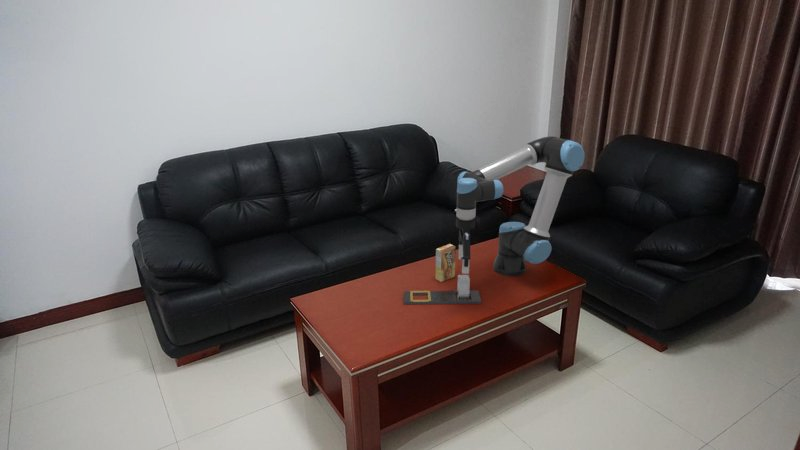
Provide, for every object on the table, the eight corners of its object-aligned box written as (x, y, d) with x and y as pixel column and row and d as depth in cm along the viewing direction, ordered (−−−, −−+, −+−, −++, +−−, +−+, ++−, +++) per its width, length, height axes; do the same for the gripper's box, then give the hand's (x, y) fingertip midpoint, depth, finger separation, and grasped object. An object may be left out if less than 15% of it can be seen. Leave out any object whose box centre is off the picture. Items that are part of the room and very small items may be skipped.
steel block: (467, 295, 210) (468, 274, 207) (469, 301, 206) (469, 279, 203) (457, 295, 210) (457, 274, 207) (458, 301, 206) (458, 279, 203)
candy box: (448, 273, 230) (449, 243, 225) (455, 276, 227) (456, 246, 222) (435, 279, 225) (435, 248, 220) (441, 282, 222) (441, 251, 216)
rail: (478, 293, 212) (478, 290, 212) (481, 303, 204) (481, 300, 203) (403, 293, 213) (403, 290, 212) (403, 304, 204) (403, 301, 204)
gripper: (453, 207, 207) (451, 253, 214) (459, 228, 184) (457, 279, 191) (471, 207, 207) (468, 253, 214) (479, 228, 183) (476, 279, 191)
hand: (463, 265), depth 203 cm, fingers open, 13 cm apart
